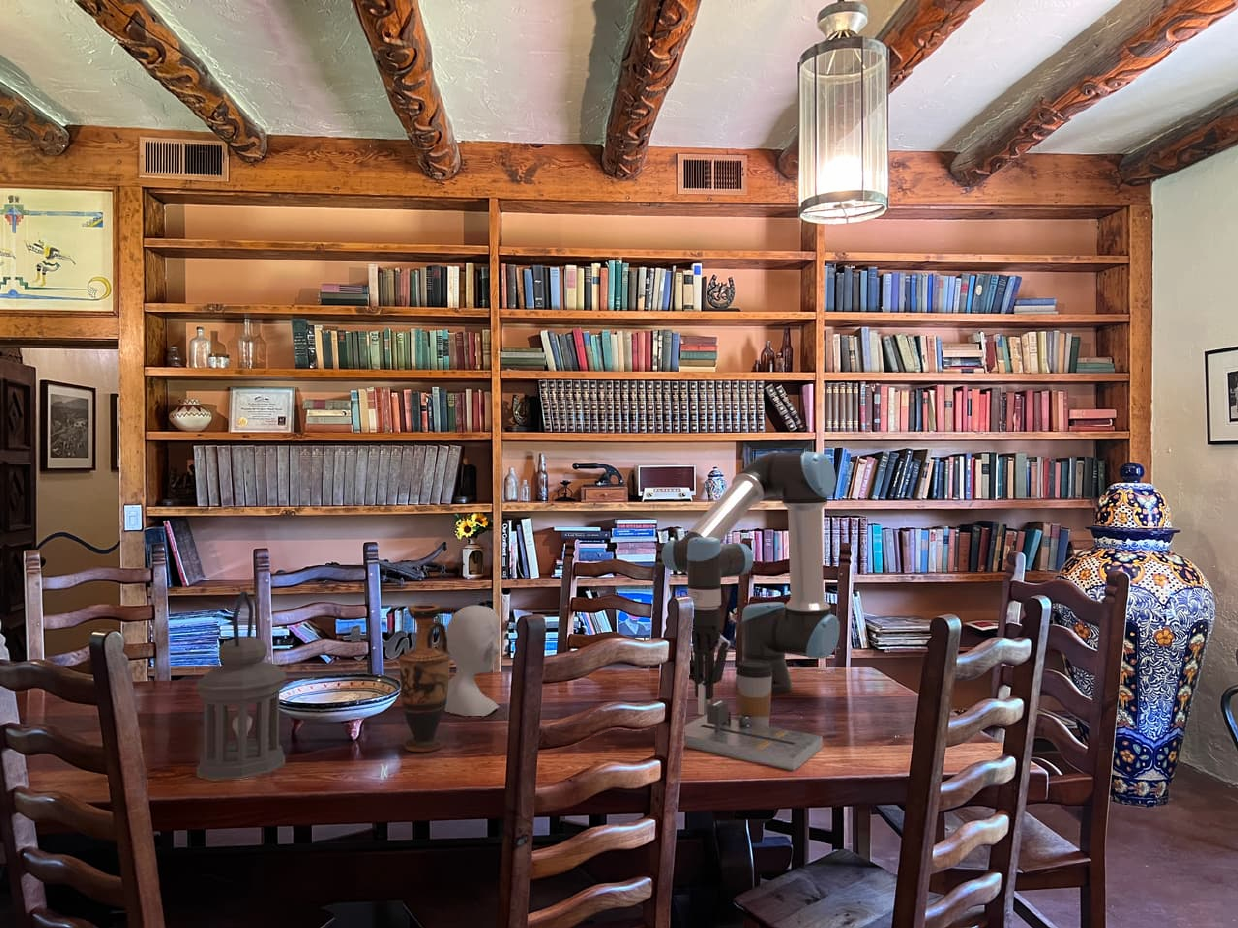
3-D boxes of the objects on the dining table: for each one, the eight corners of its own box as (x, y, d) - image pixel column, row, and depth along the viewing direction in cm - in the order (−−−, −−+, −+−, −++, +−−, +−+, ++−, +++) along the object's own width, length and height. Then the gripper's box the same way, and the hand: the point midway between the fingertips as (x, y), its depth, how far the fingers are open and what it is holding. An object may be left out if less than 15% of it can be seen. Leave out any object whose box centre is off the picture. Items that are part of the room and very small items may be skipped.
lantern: (281, 776, 155) (283, 595, 155) (185, 786, 150) (187, 598, 151) (291, 748, 171) (292, 584, 171) (204, 756, 166) (206, 587, 167)
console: (706, 725, 187) (706, 705, 187) (822, 747, 171) (822, 726, 171) (671, 743, 174) (671, 723, 174) (794, 770, 158) (793, 747, 158)
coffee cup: (772, 735, 180) (772, 668, 180) (735, 733, 181) (735, 666, 181) (773, 724, 188) (772, 660, 188) (737, 722, 189) (737, 658, 190)
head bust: (529, 701, 207) (529, 604, 208) (478, 720, 191) (479, 615, 191) (467, 689, 219) (467, 597, 219) (414, 706, 203) (414, 607, 203)
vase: (404, 758, 165) (405, 612, 165) (393, 742, 174) (394, 605, 175) (456, 750, 170) (456, 608, 170) (442, 735, 179) (443, 601, 180)
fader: (716, 731, 179) (716, 699, 179) (727, 733, 178) (727, 701, 178) (707, 736, 175) (707, 703, 176) (718, 739, 174) (718, 705, 174)
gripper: (670, 606, 179) (670, 712, 179) (722, 611, 172) (722, 722, 172) (687, 602, 186) (687, 704, 185) (738, 607, 178) (738, 713, 178)
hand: (704, 712), depth 178 cm, fingers closed
